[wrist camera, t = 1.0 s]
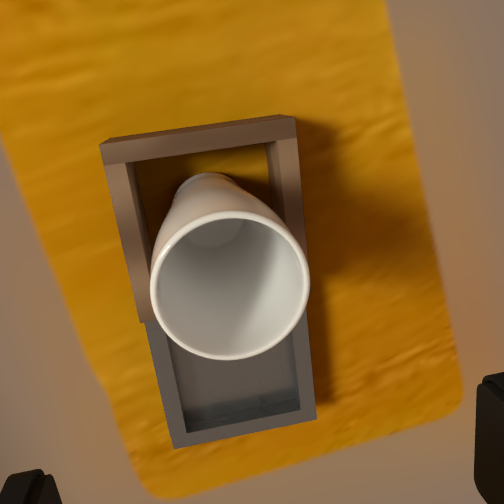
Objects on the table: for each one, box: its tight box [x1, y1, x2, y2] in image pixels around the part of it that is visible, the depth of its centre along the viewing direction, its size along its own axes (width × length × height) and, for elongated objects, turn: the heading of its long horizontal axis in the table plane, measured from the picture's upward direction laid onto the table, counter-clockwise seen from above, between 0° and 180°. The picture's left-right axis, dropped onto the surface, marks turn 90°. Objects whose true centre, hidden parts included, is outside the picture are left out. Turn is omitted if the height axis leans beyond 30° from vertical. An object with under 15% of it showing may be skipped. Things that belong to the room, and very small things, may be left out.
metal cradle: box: [144, 307, 317, 449], centre depth 36 cm, size 11×12×2 cm
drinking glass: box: [150, 172, 310, 360], centre depth 26 cm, size 7×7×15 cm
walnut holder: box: [99, 114, 311, 323], centre depth 31 cm, size 11×11×4 cm
